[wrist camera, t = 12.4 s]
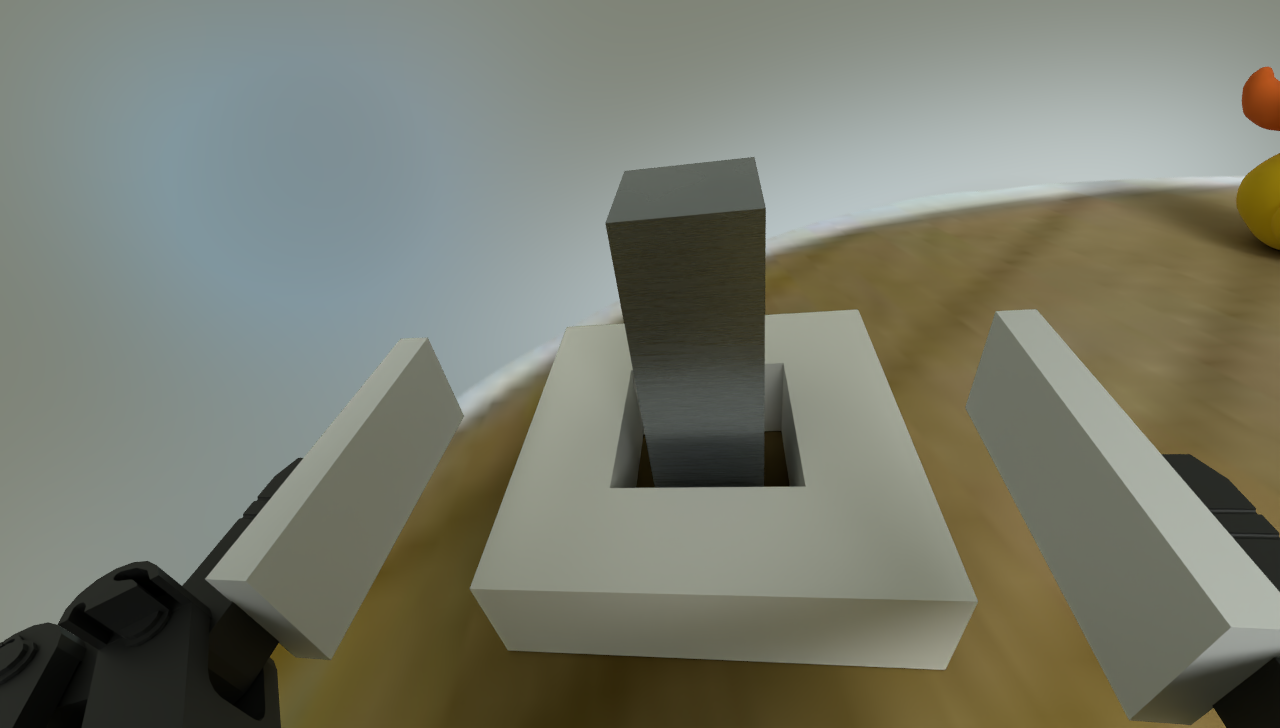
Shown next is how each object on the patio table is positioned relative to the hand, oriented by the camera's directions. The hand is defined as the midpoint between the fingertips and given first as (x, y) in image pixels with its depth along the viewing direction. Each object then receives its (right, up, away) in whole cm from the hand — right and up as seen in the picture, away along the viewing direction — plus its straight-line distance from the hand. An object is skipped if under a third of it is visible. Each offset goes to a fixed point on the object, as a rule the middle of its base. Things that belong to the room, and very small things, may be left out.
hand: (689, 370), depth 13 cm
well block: (+2, -5, +10) cm, 11 cm away
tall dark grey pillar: (+2, -5, +10) cm, 11 cm away
